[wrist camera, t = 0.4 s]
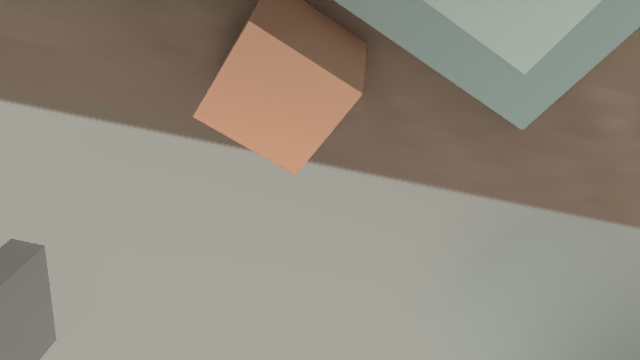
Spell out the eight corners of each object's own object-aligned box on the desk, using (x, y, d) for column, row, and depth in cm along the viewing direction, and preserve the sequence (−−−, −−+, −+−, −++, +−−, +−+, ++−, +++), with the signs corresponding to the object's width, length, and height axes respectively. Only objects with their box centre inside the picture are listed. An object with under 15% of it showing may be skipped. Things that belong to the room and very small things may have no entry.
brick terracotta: (271, -22, 31) (248, 20, 26) (367, 42, 33) (362, 93, 28) (221, 65, 35) (192, 116, 30) (308, 118, 37) (295, 175, 32)
